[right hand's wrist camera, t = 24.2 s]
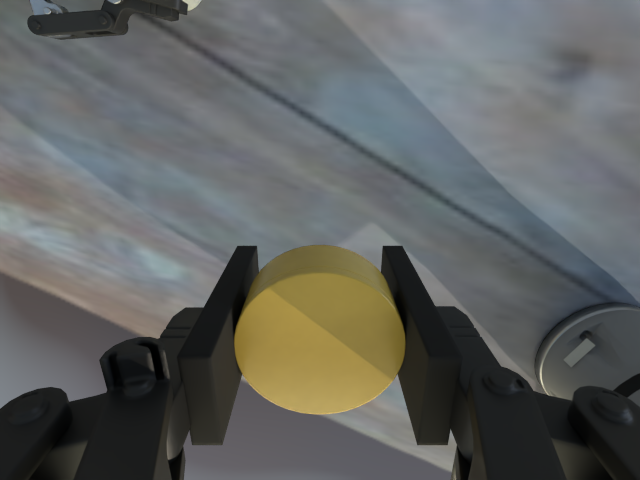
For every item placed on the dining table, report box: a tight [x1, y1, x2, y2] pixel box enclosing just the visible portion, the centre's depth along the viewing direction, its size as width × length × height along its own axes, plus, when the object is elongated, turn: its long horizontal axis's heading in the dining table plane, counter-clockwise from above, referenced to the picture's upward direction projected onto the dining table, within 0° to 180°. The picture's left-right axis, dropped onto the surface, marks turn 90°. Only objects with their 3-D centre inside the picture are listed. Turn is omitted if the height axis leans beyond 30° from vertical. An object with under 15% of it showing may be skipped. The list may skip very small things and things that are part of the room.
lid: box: [234, 245, 406, 414], centre depth 11 cm, size 5×5×2 cm
